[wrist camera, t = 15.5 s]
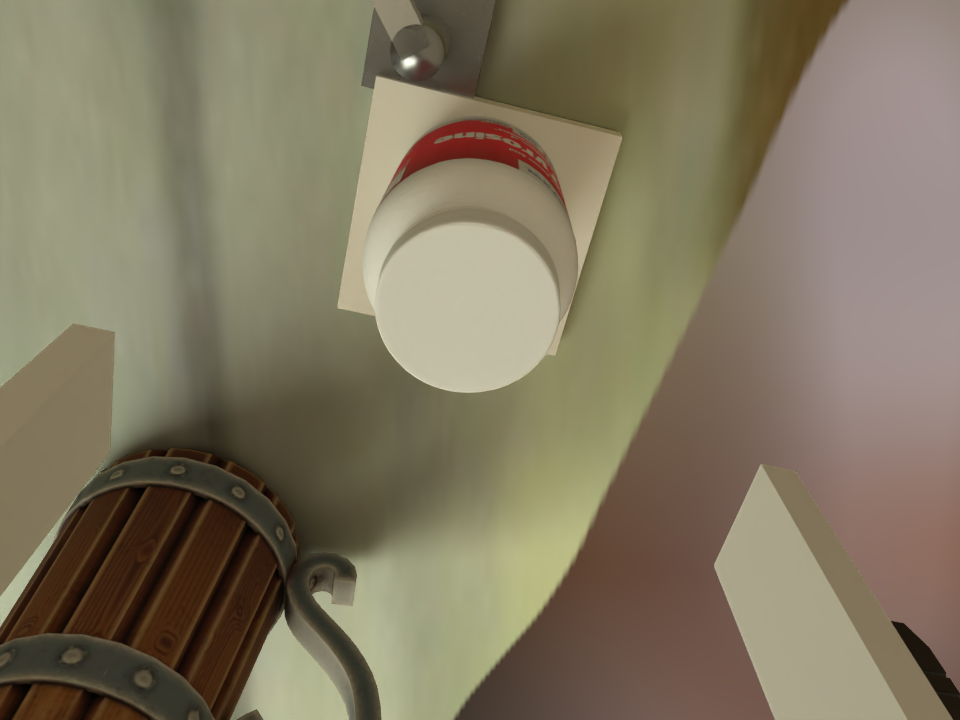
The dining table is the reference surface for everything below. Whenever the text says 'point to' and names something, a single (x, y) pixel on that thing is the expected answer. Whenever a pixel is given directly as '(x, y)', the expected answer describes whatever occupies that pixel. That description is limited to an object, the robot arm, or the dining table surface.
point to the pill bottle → (471, 256)
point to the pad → (417, 109)
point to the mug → (171, 599)
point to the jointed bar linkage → (429, 43)
